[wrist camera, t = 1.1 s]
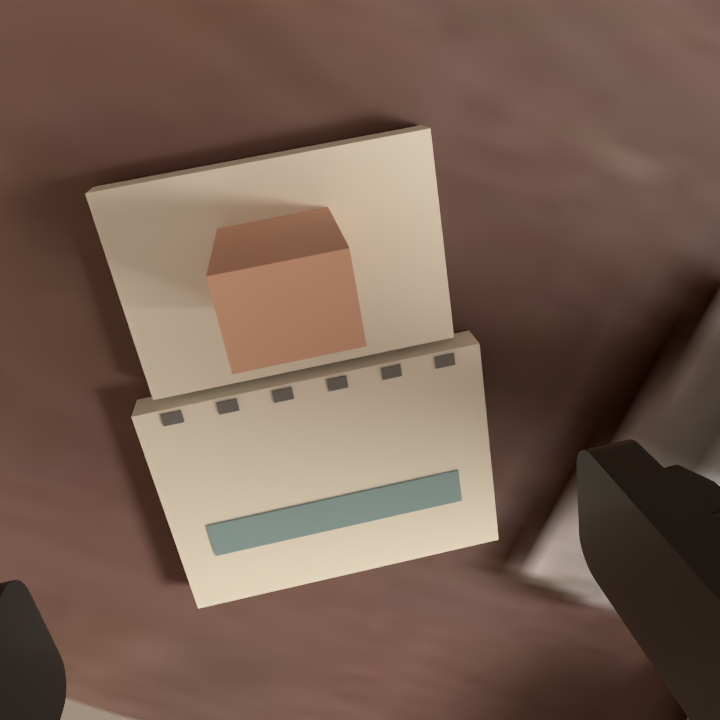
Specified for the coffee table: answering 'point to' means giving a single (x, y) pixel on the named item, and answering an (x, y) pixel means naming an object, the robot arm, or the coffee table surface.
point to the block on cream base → (278, 260)
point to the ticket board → (324, 469)
